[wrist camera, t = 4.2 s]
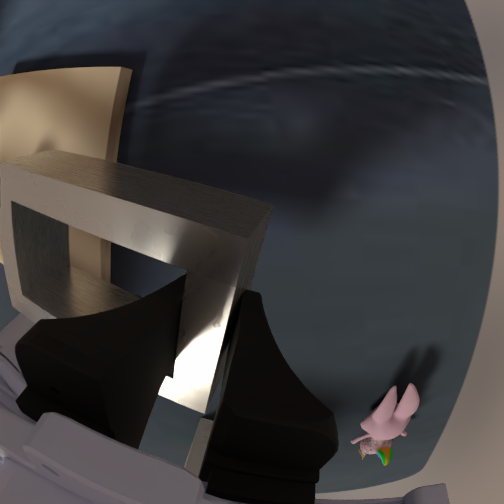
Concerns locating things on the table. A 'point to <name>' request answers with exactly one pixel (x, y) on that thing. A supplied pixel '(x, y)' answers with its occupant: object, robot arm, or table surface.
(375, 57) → the table surface
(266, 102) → the table surface
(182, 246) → the beige hollow boxy piece
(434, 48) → the table surface
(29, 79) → the board
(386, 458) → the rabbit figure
